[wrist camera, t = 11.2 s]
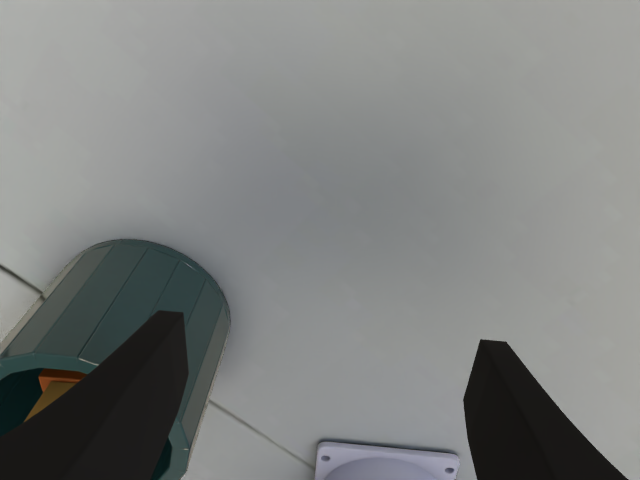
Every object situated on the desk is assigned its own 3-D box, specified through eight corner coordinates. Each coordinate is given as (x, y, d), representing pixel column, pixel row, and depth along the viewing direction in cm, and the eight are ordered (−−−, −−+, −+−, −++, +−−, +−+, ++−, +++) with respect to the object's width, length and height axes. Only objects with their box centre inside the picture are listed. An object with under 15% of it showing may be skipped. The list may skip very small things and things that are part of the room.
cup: (233, 381, 28) (196, 516, 22) (76, 366, 29) (-7, 495, 22) (229, 247, 24) (181, 367, 18) (43, 231, 24) (-71, 343, 18)
